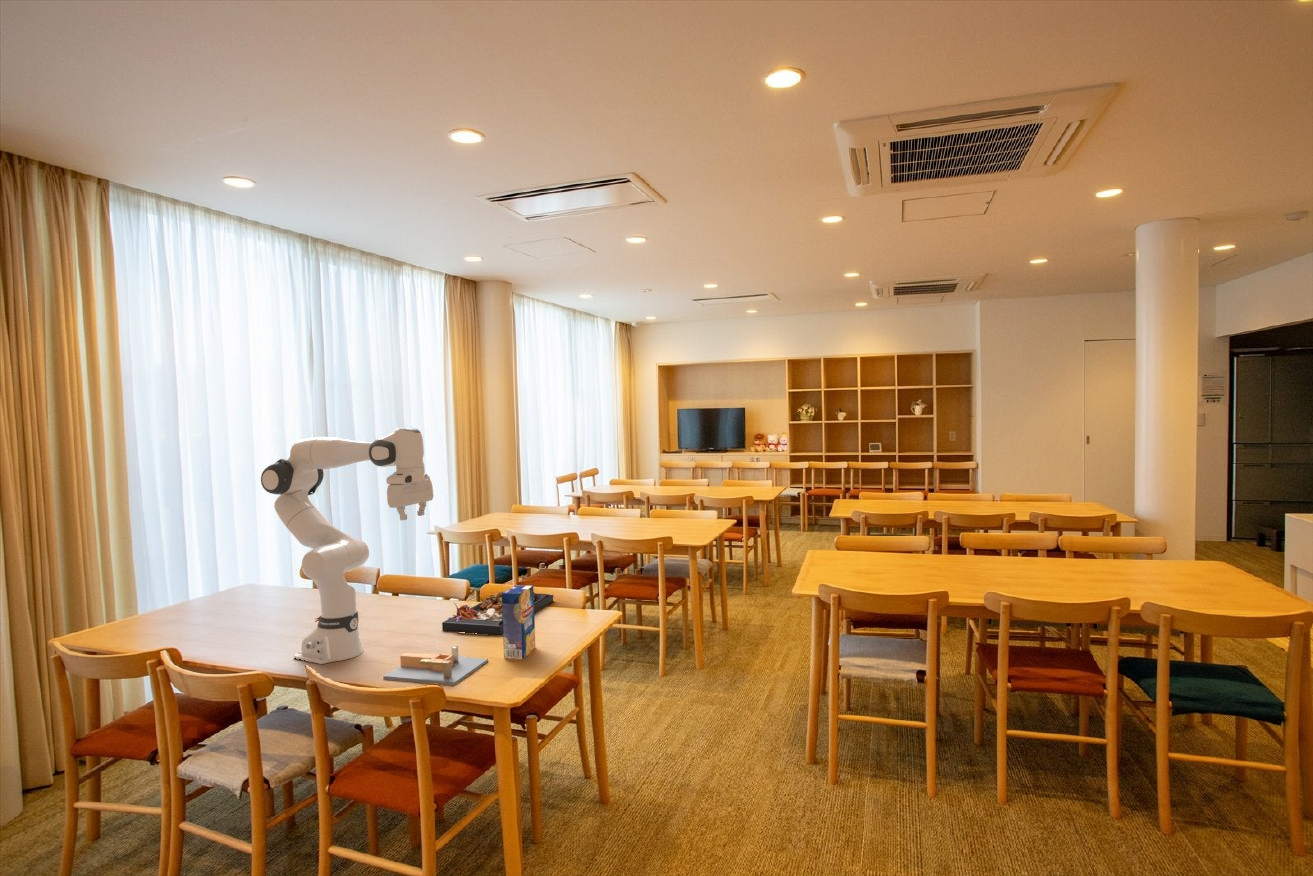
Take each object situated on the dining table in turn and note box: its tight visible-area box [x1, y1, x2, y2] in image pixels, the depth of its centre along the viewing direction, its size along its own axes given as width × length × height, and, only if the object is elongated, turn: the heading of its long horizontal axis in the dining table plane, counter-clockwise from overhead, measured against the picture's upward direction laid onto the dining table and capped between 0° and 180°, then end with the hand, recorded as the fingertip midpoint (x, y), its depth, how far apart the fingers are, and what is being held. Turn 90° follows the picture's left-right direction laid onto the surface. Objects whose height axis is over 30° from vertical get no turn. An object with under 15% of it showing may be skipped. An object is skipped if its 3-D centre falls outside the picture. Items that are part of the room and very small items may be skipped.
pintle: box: [451, 645, 459, 663], centre depth 222 cm, size 2×2×5 cm
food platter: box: [441, 591, 554, 637], centre depth 276 cm, size 45×25×10 cm, turn 163°
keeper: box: [420, 659, 452, 679], centre depth 211 cm, size 10×2×5 cm, turn 75°
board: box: [382, 656, 489, 686], centre depth 219 cm, size 25×20×1 cm
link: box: [399, 652, 454, 671], centre depth 220 cm, size 17×5×3 cm, turn 75°
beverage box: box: [502, 584, 536, 659], centre depth 231 cm, size 7×11×22 cm, turn 169°
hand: (412, 517), depth 227 cm, fingers open, 8 cm apart
